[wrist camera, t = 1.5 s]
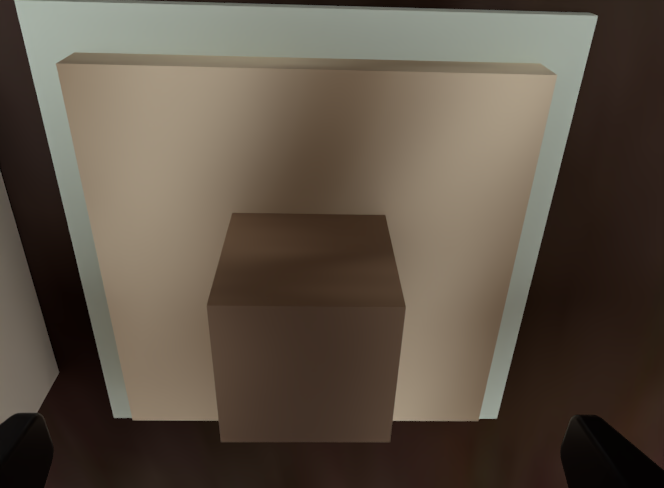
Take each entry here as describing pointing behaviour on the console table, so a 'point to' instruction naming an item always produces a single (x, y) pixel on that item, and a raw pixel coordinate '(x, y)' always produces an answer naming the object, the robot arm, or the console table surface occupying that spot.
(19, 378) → the beige boxy piece
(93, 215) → the lid
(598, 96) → the console table surface
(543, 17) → the mat
